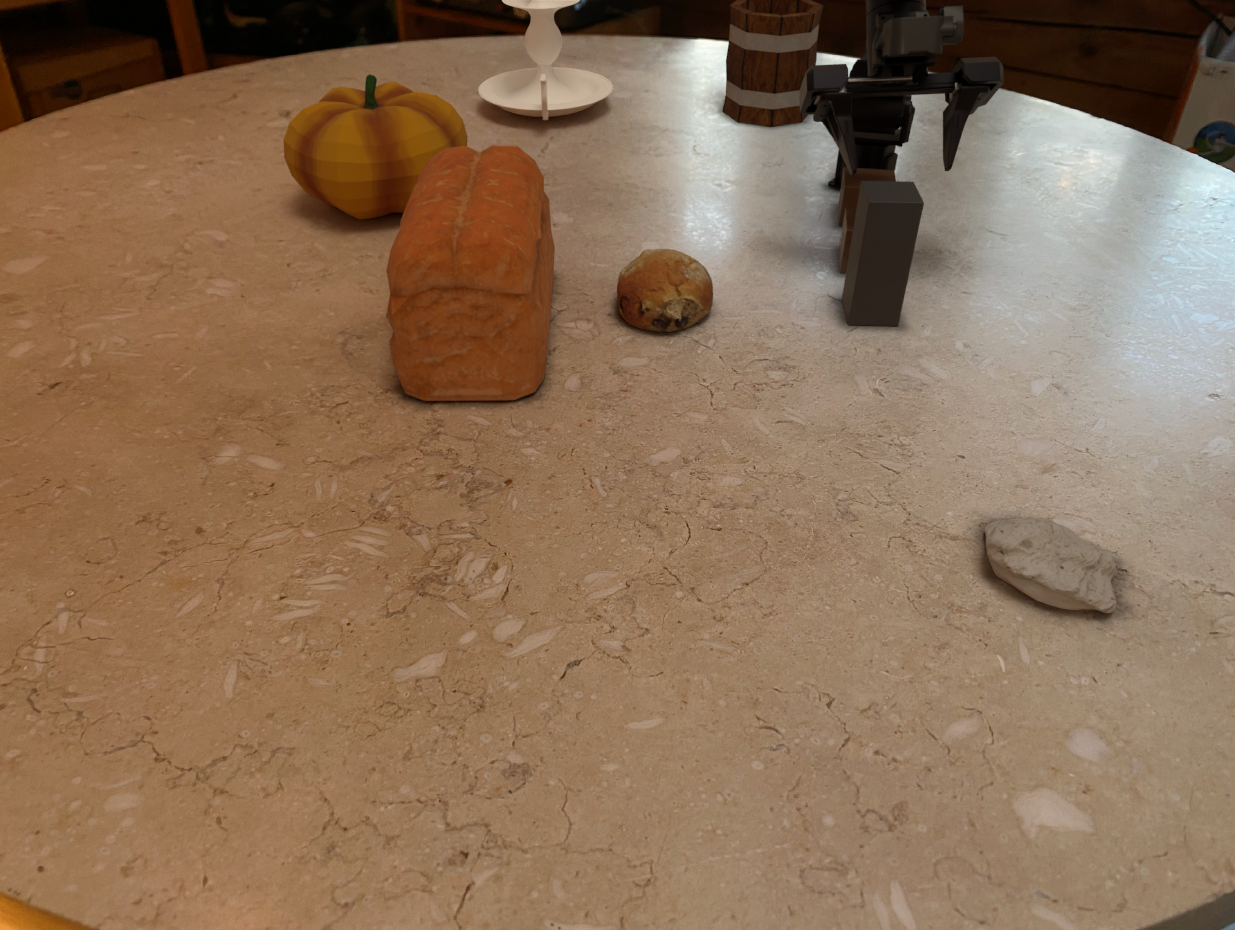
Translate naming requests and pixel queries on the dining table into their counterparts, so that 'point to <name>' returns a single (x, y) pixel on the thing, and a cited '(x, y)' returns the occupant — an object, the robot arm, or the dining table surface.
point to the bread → (472, 278)
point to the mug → (769, 59)
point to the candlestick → (544, 71)
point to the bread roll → (664, 291)
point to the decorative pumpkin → (369, 145)
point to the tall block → (881, 252)
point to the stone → (1051, 563)
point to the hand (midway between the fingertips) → (900, 171)
